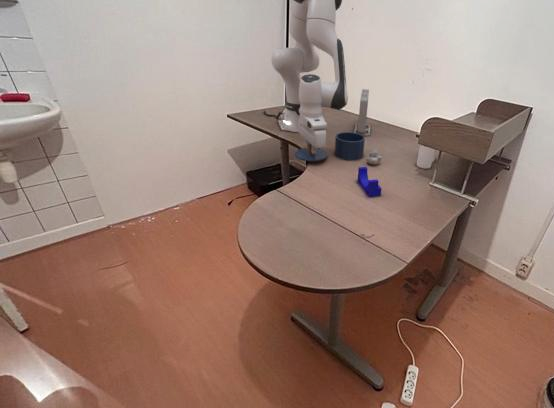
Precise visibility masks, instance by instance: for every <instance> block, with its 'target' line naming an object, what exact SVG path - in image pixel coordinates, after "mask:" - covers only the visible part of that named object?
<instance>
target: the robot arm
mask: <svg viewBox="0 0 554 408" xmlns="http://www.w3.org/2000/svg"><path fill="white" fill-rule="evenodd" d="M342 3H343V0H293V5H292V10H291V16H290V22H289V28H288V32H289V34H290V36H291V37H292V39H293V40H294V41H295V46H294V47H282V48H278V49H274V51H273V52H272V54H271V56H270V57H271V58H270V61H271V66H272V68H273V69H274V70H275V72H277V74H279V75H280V77H281V78H282V80H283V84H284V87H285V95H286V96H285V97H286V101H285V105H284V106H285V109H284V110H281V111H278V113H277V114H270V113H269V114H268V113H266V112H267V111H266V110H264V111H263V114H264V115H265V116H268V117H275V118H276V119H277V120H278V119H279V120H278V121H277V122H278V125H279V128H280V130H281V131H286V132H291V133H298V135H300V136H301V137H302V138H303V139H304V141H305V144H306V148H307V149H308V144H312V149H311V153H312V154H315V153H316V149H324V148H325V147H326V145H327V128H328V123H327V122H326V120H325V118H324V116H323V109H322V108H329V109H333V110H338V111H340V110H342V109H343V108H345V107H346V106H347V105H348V101H349V94H348V93H349V92H348V89H347V80H346V77H347V76H346V63H345V53H344V46H343V43H342V40H341V39H340V38H338V35H337V31H336V21H337V13H336V12H337V11H338V10H339V9H340V7H341V5H342ZM315 47H316V48H317V49H319V50H321V51H322V52H324V53H326V54H327V55H329V56H330V57H331V58H332V60H333V68H334V69H333V70H334V80H335V81H334V82H326V81H325V82H324V81H322V80H321V77H320V76H318V75H316V74H311V73H310V72H313V71H315V70H318V68H319V66H320V57H319V54H318V52H317V50H316V48H315ZM301 73H307V74H304V75H302V76H301ZM308 73H309V74H308Z"/></svg>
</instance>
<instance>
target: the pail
mask: <svg viewBox="0 0 554 408" xmlns="http://www.w3.org/2000/svg"><path fill="white" fill-rule="evenodd" d="M361 134H362V133H360V134H358V132H356V133H354V131H352V132H351V131H344V132H338V133H336V134H335V137H334V155H335V157H337V158H338V159H339V160H344V161H358V160H361V159H363V157H364V152H365V143H366V142H365V141H366V138H365V136H363V135H361Z"/></svg>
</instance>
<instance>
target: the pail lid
mask: <svg viewBox="0 0 554 408" xmlns="http://www.w3.org/2000/svg"><path fill="white" fill-rule="evenodd" d="M311 149H312V144H308V149H307V147H305V148H304V147H303V148H300V149H297V150H296V151H295V152H294V156H295V158H296V159H298V160H300V161H304V162H319V161H323V160H325V159H327V158H328V157H329V153H328V152H327V151H326V150H325V149H323V148H321V149H316V153H315V154H312V153H311Z"/></svg>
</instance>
